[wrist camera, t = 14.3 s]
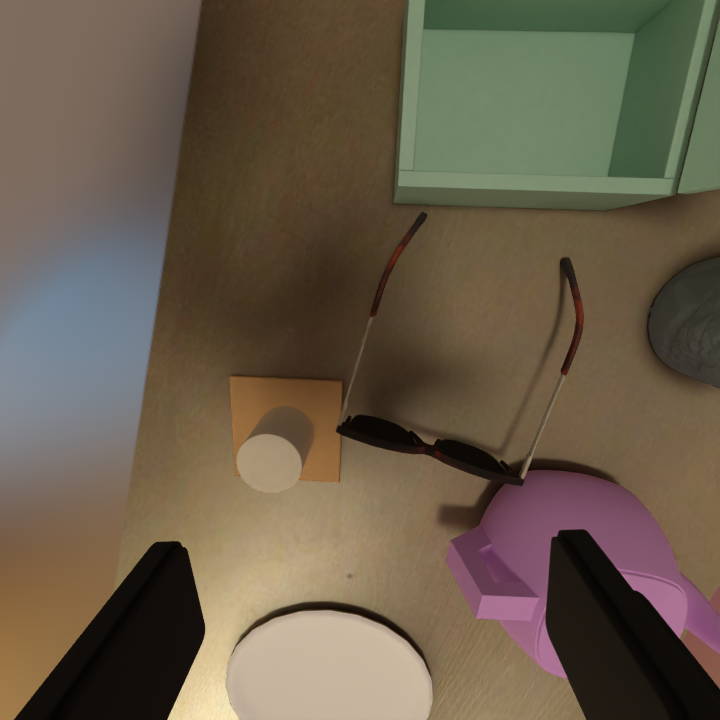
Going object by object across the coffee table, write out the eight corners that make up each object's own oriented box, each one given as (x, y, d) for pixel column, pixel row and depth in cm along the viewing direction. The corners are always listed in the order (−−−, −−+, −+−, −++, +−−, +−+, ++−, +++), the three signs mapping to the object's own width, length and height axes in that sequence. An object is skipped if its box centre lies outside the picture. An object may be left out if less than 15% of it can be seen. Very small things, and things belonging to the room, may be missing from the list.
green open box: (393, 203, 26) (397, 186, 20) (403, 21, 23) (412, -62, 17) (606, 210, 25) (675, 195, 19) (642, 25, 22) (737, -59, 17)
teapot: (637, 608, 34) (758, 771, 23) (421, 570, 34) (442, 714, 23) (696, 482, 30) (874, 604, 19) (456, 439, 30) (500, 537, 19)
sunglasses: (339, 410, 30) (333, 435, 25) (400, 209, 27) (407, 192, 22) (499, 457, 30) (524, 490, 25) (578, 265, 27) (624, 260, 22)
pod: (259, 455, 31) (237, 491, 26) (257, 404, 30) (234, 432, 25) (314, 458, 31) (302, 495, 26) (314, 407, 30) (302, 436, 25)
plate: (253, 575, 35) (249, 586, 33) (462, 635, 35) (465, 648, 34) (211, 722, 40) (206, 736, 39) (393, 772, 41) (394, 787, 39)
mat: (236, 473, 32) (234, 476, 31) (231, 374, 30) (229, 376, 29) (339, 480, 32) (339, 482, 31) (342, 380, 29) (342, 382, 29)
